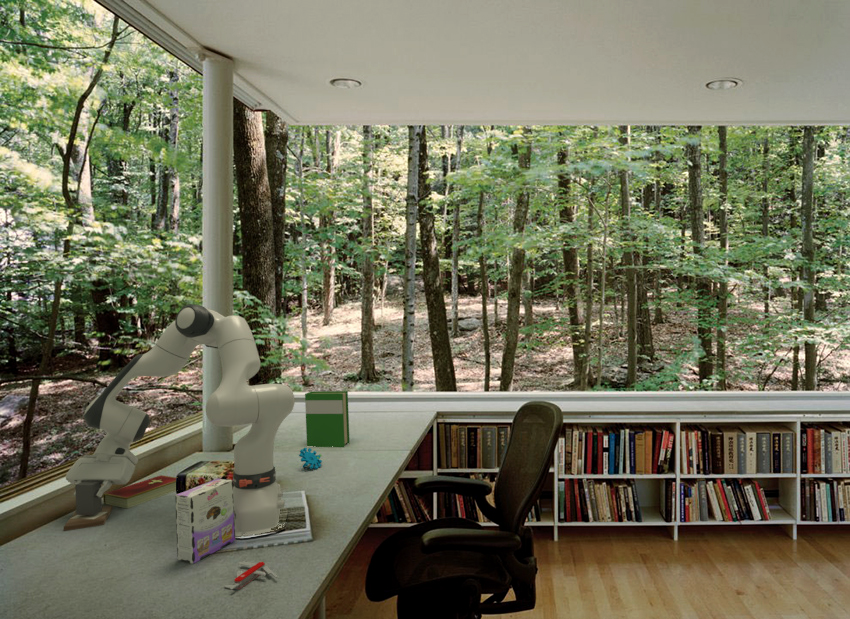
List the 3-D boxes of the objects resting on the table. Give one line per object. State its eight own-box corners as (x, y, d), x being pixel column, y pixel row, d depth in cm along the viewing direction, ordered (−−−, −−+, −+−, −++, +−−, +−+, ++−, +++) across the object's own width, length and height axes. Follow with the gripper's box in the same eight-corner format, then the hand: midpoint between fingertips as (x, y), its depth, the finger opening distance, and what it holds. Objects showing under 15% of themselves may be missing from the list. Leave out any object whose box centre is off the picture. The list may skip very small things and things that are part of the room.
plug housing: (101, 510, 164) (100, 481, 164) (92, 515, 160) (91, 485, 160) (85, 510, 164) (84, 481, 164) (76, 514, 161) (75, 484, 161)
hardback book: (349, 443, 246) (347, 391, 246) (344, 447, 239) (342, 393, 239) (313, 442, 249) (311, 391, 249) (306, 446, 242) (305, 393, 242)
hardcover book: (103, 505, 176) (103, 492, 176) (160, 485, 194) (160, 474, 194) (126, 510, 170) (126, 497, 170) (183, 489, 189) (182, 477, 189)
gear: (309, 468, 201) (296, 447, 206) (300, 478, 203) (288, 457, 208) (329, 465, 211) (316, 445, 215) (320, 474, 212) (308, 454, 217)
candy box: (219, 538, 145) (217, 477, 145) (236, 541, 142) (233, 479, 142) (176, 560, 132) (173, 493, 132) (193, 564, 130) (190, 496, 130)
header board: (103, 524, 157) (103, 510, 157) (63, 530, 154) (63, 516, 154) (112, 508, 170) (112, 496, 171) (76, 514, 167) (75, 501, 167)
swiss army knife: (255, 600, 113) (255, 590, 113) (204, 589, 118) (204, 580, 118) (288, 574, 123) (288, 565, 123) (240, 565, 128) (240, 557, 128)
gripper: (75, 449, 171) (50, 490, 161) (133, 450, 167) (111, 491, 158) (86, 460, 175) (63, 500, 165) (143, 460, 172) (122, 501, 162)
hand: (87, 496), depth 162 cm, fingers closed on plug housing, 5 cm apart
